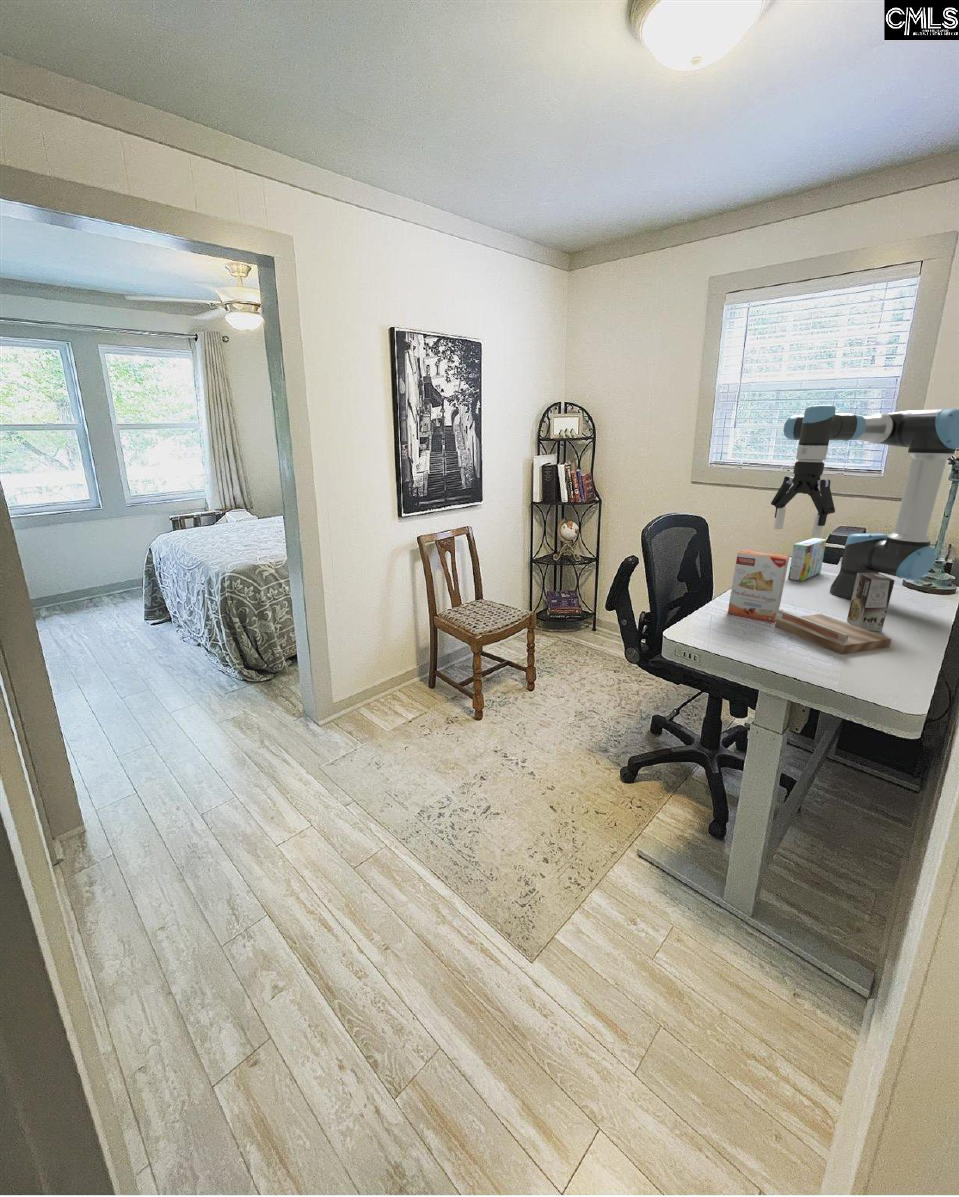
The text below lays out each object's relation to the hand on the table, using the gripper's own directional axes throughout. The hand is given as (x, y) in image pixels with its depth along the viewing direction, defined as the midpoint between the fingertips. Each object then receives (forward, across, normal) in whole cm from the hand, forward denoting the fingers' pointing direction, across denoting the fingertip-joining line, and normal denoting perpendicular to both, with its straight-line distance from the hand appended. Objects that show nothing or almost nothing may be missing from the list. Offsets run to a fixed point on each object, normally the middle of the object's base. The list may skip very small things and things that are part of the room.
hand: (796, 532), depth 161 cm
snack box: (+28, -40, +55) cm, 74 cm away
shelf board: (+28, +17, +1) cm, 32 cm away
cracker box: (+28, -4, -7) cm, 29 cm away
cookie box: (+28, +13, +20) cm, 37 cm away
